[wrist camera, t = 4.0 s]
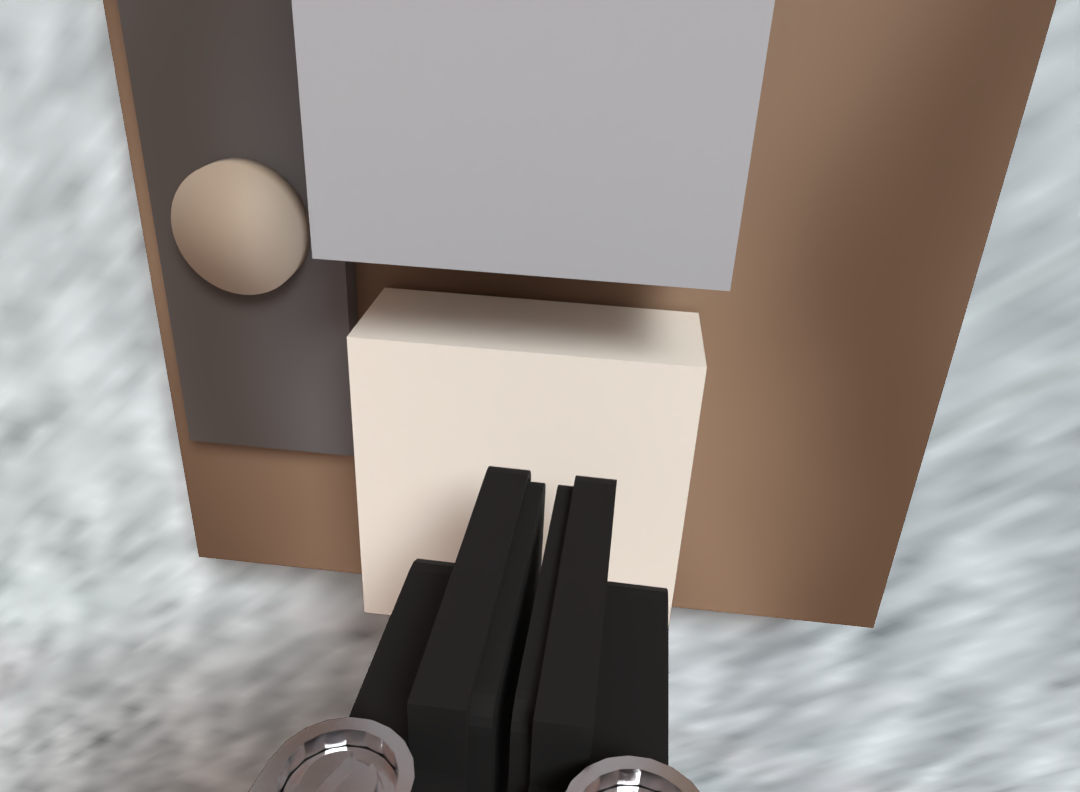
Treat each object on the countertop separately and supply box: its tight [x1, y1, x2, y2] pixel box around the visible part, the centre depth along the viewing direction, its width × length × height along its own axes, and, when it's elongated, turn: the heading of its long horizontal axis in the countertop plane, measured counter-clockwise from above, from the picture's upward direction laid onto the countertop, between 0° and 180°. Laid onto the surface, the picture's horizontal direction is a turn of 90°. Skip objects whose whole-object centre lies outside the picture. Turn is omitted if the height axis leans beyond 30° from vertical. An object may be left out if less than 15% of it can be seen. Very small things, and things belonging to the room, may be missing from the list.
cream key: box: [347, 288, 707, 627], centre depth 14 cm, size 5×5×2 cm
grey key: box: [292, 0, 775, 291], centre depth 10 cm, size 5×5×2 cm
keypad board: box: [103, 0, 1056, 628], centre depth 12 cm, size 13×20×3 cm, turn 177°
